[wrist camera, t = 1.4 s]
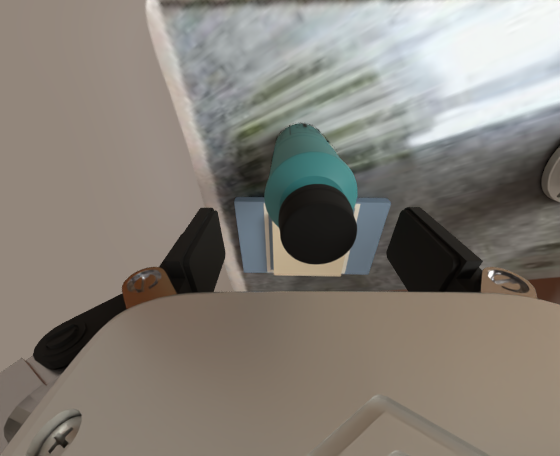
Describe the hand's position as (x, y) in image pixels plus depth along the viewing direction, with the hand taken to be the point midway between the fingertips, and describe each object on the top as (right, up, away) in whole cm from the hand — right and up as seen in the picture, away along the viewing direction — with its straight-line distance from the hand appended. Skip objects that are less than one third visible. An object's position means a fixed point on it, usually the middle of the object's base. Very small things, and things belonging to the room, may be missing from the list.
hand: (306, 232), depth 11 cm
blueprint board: (+3, -1, +24) cm, 24 cm away
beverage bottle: (+1, +11, +16) cm, 19 cm away
